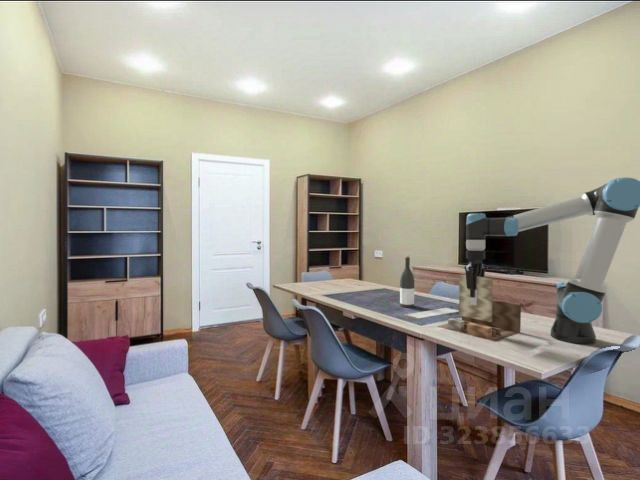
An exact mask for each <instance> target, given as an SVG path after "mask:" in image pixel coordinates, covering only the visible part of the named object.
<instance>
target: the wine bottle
mask: <svg viewBox="0 0 640 480" xmlns="http://www.w3.org/2000/svg"><path fill="white" fill-rule="evenodd" d="M404 258H405V259H404V260H405V265H404V267H405V268H404V270H403V271H402V273H401V275H400V278H399V306H400V307H403V308H413V307H415V276H414V273H413V272H412V270H411V267H410V266H411V265H410V261H411V257H410V254H405V257H404Z"/></svg>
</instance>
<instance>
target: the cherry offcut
mask: <svg viewBox="0 0 640 480" xmlns="http://www.w3.org/2000/svg"><path fill="white" fill-rule="evenodd" d="M467 333H468V334H472V335H476V336H480V337H483V338H487V339H489V338H492V327H488V326H483V325H479V324H475V323H468V324H467Z"/></svg>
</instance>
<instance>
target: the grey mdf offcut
mask: <svg viewBox="0 0 640 480" xmlns="http://www.w3.org/2000/svg"><path fill="white" fill-rule="evenodd" d="M447 324H448V328H449V329H453V330H457V331H464V321H462V319H460V320H458V318H453V317H451V318H448V319H447Z"/></svg>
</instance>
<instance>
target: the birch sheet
mask: <svg viewBox="0 0 640 480" xmlns="http://www.w3.org/2000/svg"><path fill="white" fill-rule="evenodd" d="M458 281H459V283H458V285H459V286H458V288H459V289H458V292H459V293H458V294H459V296H458V301H459V302H458V311H459V313H458V314H459V315H458V316H459V317H462V316H464V317H469V318H474V319H478V320H483V321H488V322H492V299H493V277H486V276H484V277H477V281H476V290H477V305H470V289H468V288H467V283H466V274H459V280H458Z"/></svg>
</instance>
